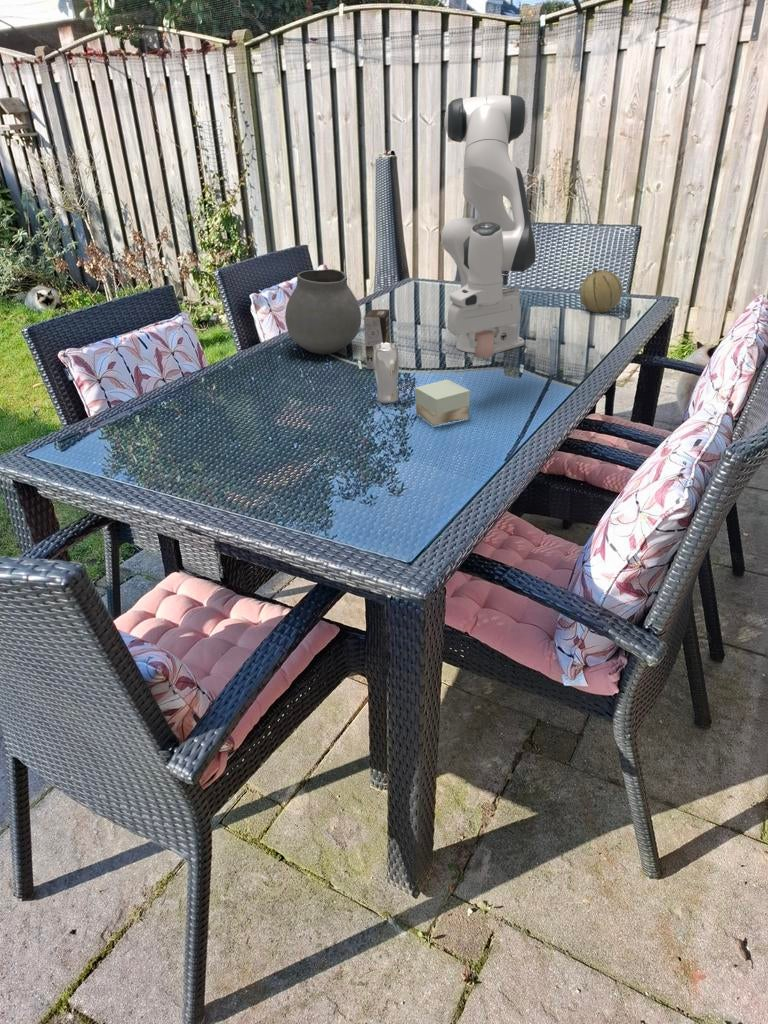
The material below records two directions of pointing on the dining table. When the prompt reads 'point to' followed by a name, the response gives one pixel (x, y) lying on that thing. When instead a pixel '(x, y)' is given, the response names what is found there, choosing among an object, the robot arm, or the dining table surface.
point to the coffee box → (375, 332)
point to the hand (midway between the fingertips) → (484, 345)
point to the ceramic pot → (322, 311)
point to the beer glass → (386, 371)
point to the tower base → (442, 415)
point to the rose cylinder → (484, 343)
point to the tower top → (442, 396)
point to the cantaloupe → (601, 291)
